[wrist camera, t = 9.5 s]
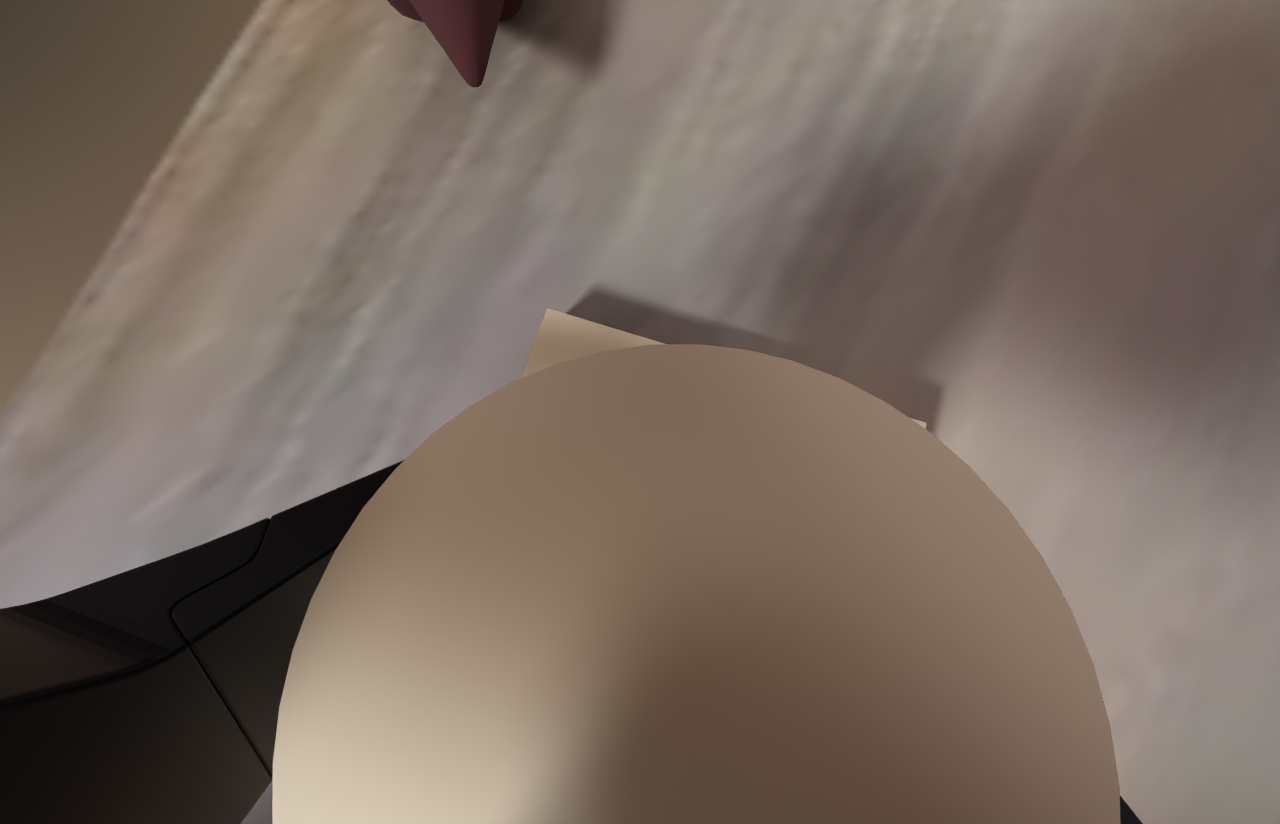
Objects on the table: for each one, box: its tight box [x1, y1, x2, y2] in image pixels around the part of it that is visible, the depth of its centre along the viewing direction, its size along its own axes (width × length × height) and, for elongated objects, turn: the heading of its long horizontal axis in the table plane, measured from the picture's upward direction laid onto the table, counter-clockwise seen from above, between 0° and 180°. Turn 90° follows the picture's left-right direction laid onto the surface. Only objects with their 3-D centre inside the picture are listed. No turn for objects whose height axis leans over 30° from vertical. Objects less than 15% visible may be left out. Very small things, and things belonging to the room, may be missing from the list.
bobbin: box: [272, 344, 1121, 824], centre depth 10 cm, size 8×8×13 cm
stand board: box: [521, 308, 927, 429], centre depth 17 cm, size 20×14×2 cm
